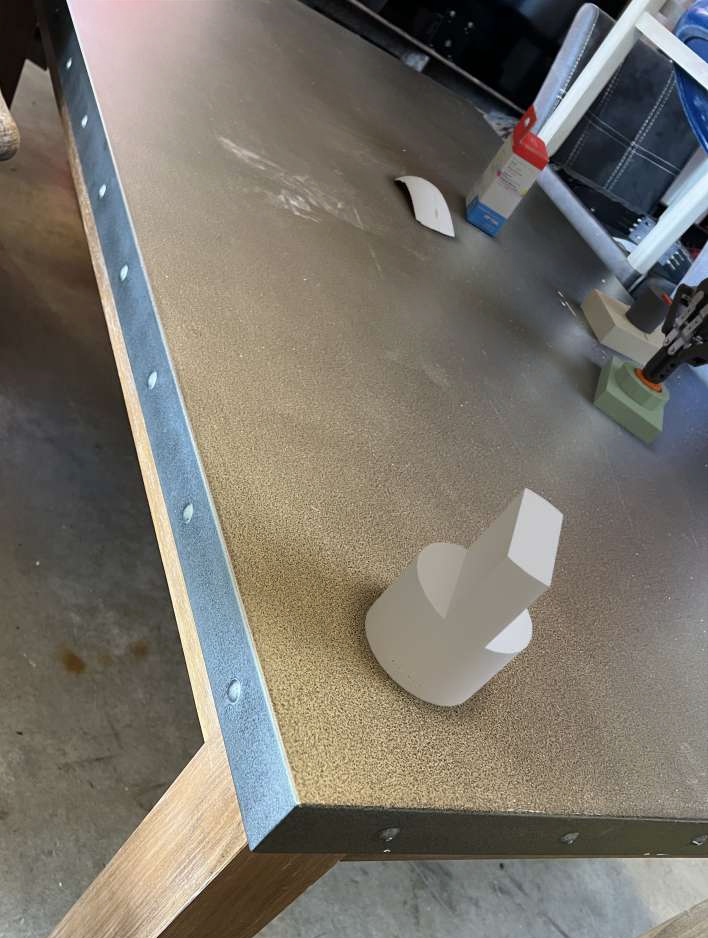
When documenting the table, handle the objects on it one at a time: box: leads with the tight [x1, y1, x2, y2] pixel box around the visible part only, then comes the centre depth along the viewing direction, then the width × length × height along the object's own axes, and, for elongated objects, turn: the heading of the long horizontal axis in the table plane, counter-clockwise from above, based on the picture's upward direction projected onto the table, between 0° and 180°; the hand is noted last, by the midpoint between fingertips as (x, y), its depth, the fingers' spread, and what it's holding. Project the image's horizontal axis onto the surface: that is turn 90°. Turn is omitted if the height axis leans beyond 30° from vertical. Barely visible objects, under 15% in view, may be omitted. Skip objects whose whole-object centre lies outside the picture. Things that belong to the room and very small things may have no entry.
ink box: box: [465, 104, 550, 238], centre depth 130 cm, size 8×5×15 cm, turn 171°
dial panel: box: [579, 288, 665, 367], centre depth 130 cm, size 12×9×3 cm
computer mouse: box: [394, 175, 456, 238], centre depth 125 cm, size 7×12×2 cm, turn 15°
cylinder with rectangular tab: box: [364, 487, 564, 707], centre depth 62 cm, size 9×9×12 cm
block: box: [592, 354, 671, 446], centre depth 114 cm, size 12×8×4 cm, turn 157°
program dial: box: [626, 284, 673, 334], centre depth 128 cm, size 4×4×5 cm
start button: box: [634, 368, 661, 393], centre depth 113 cm, size 4×4×2 cm
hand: (648, 378), depth 113 cm, fingers closed
